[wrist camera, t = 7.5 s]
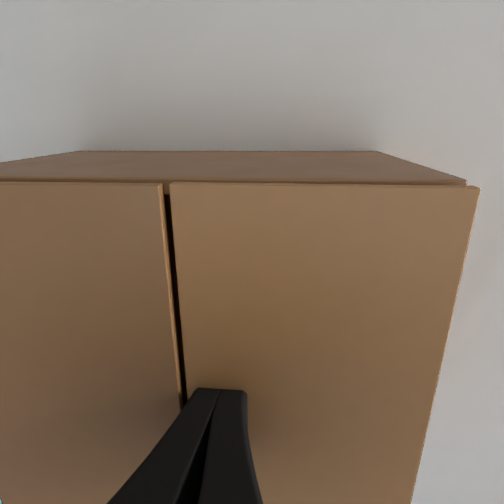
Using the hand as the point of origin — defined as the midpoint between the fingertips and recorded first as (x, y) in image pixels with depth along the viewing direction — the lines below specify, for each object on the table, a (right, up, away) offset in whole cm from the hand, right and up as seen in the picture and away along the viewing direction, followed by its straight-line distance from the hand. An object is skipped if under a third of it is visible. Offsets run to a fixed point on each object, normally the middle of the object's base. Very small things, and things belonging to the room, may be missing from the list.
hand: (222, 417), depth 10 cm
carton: (0, +3, +8) cm, 8 cm away
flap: (+2, 0, 0) cm, 2 cm away
